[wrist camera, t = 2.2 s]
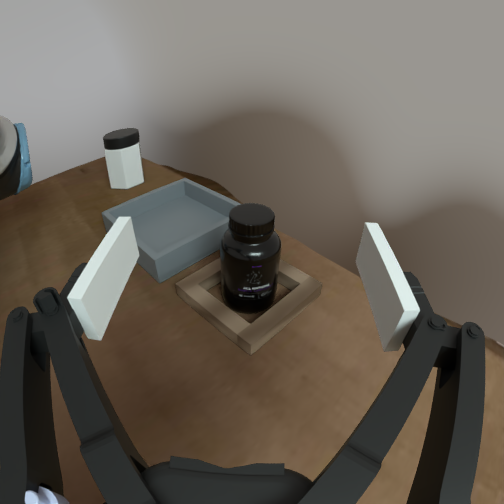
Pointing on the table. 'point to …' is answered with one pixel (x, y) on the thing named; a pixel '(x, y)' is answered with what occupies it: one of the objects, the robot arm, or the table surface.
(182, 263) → the bin
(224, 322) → the socket collar
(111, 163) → the jar
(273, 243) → the supplement bottle
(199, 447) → the table surface
